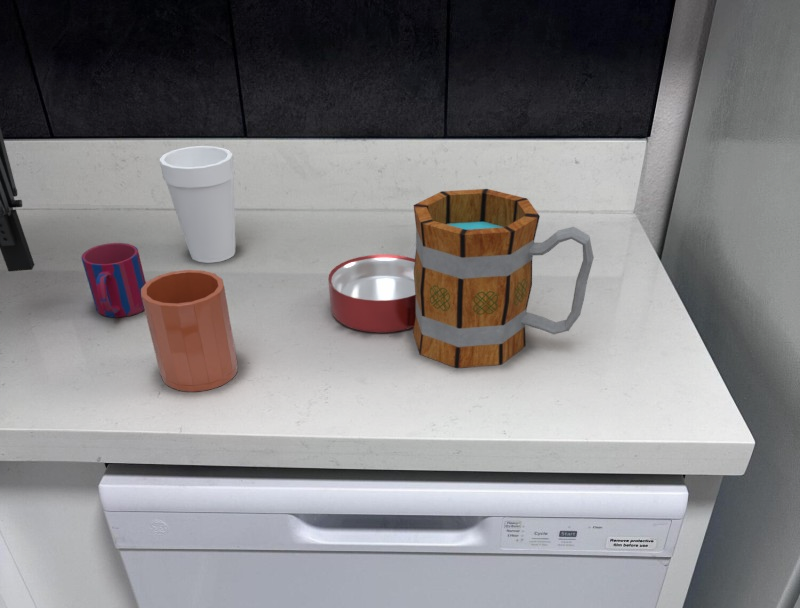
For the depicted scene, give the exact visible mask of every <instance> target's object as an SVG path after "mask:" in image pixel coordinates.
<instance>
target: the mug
mask: <svg viewBox="0 0 800 608" xmlns="http://www.w3.org/2000/svg"><path fill="white" fill-rule="evenodd" d="M413 211H414V221H415V241H416V242H415V244H416V255H415V265H414V282H415V294H416V315H415V322H414V327H413V329H412V330H413V331H412V334H413V337H414V340H415V344H416V347H417V350H418V354H419V355H420V356H423V357H426V358H429V359H432V360H435V361H436V362H438V363H439V362H440V363H441V364H445V365H447V366H450V367H453V368H456V369H459V368H461V369H462V368H473V367H487V366H501V365H503V364H504V363H506V362H507V361H509V360H510V359H511V358H513V357H514V356H515V355H516V354H517V353H519V352H520V351H521V350H522V349H524V348H525V347H526V326H527V327H530V328H535V329H538V330H541V331H543V332H546V333H549V334H552V335H557V334H562V333H565V332H569V331H570V329H571V328H572V327H573V325H574V324H575V323H576V321H577V320H578V318H579V317H580V316H581V314H582V313H581V312H582V309H583V305H584V302H585V295H586V290H587V284H588V279H589V277H590V273H591V269H592V266H593V263H594V258H595V257H594V253H593V247H592V242H591V236H590V234H588V233H586V232H585V231H582V230H581V229H579V228H577V227H575V226H571V227H567V228H563V229H559V230H557V231H556V232H555V233H553V234H552V235H551V236H550V237H548V238H547V239H546V240H543V241H542V242H535V239H536V235H537V231H538V230H537V229H538V225H539V221H540V218H541V215H540V214H539V212H537V210H536V209H535V207H534V205H532V203H531V202H530V200H529V199H528V198H527V197H522V196H518V195H515V194H510V193H507V192H501V191H497V190H495V189H489V188H480V189H479V188H477V189H461V190H459V189H458V190H443V191H439V192H438V193H435V194H434V195H431V196H428V197H427V198H425V199H423V200H422V201H419V202H417V203H415V204H413ZM569 240H573V241H575V242H576V243H578V244H580V245H582V262H581V265H580V268H579V271H578V273H577V278H576V280H575V284H574V285H575V286H574V291H573V292H574V293H573V298H572V303H571V309H570V312H569V314H568V316H567V318H566V319H564V320H560V321H553V320H551V319H549V318H547V317H545V316H543V315H538V314H536V313H535V314H534V313H531V312H527V310H528V305H529V300H530V296H531V291H532V287H533V257H534V256H544V255H545V254H548V253H550V251H552V250H553V249H554V248H555V247H556V246H558V245H559V244H560V243H563V242H567V241H569Z"/></svg>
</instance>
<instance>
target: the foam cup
mask: <svg viewBox="0 0 800 608" xmlns="http://www.w3.org/2000/svg"><path fill="white" fill-rule="evenodd" d="M159 164H160V165H159V166H160V171H161V174H162V179H163V180H164V182H165V185H166V187H167V189H168V192H169V195H170V198H171V202H172V205H173V207H174V210H175V213H176V217H177V220H178V222H179V225H180V229H181V232H182V234H183V238H184V240H185V243H186V246H187V249H188V250H187V251H188V252H189V254H190V257H191V259H192V260H193V261H195V262H199V263H207V264H211V263H220V262H223V261H226V260H229V259H231V258H232V257H234V256H235V254H236V210H235V209H236V207H235V205H236V204H235V175H236V168H235V163H234V155H233V153H232V152H231V151H230V150H229V149H227V148H223V147H220V146H212V145H197V146H196V145H195V146H185V147H182V148H177V149H176V148H175V149H173V150H170V151H168V152H166V153H164V154H163V155H162V156H161V157H160V158H159Z"/></svg>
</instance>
